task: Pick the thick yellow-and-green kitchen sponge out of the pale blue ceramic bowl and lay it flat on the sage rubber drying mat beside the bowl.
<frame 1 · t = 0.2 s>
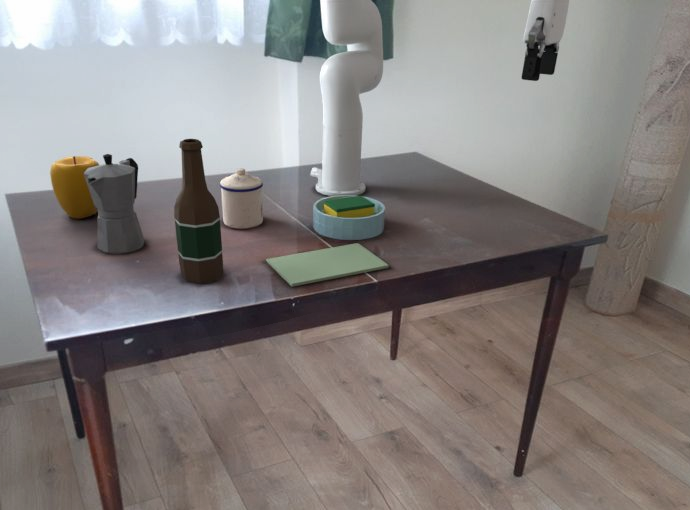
hand: (537, 77, 122), 31 cm above the table, tool pointing down, fingers open, 9 cm apart
bowl: (348, 228, 137), on the table
beer bottle: (202, 276, 115), on the table
sponge: (348, 227, 136), resting on bowl
apple: (84, 215, 141), on the table
drying mat: (327, 264, 120), on the table
coffeepot: (124, 244, 127), on the table
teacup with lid: (240, 221, 140), on the table
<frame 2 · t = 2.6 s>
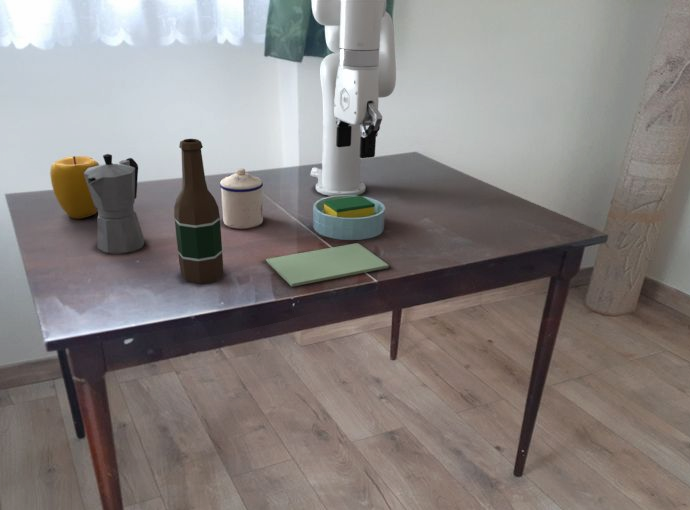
hand: (355, 151, 128), 16 cm above the table, tool pointing down, fingers open, 9 cm apart
nothing on the table moved.
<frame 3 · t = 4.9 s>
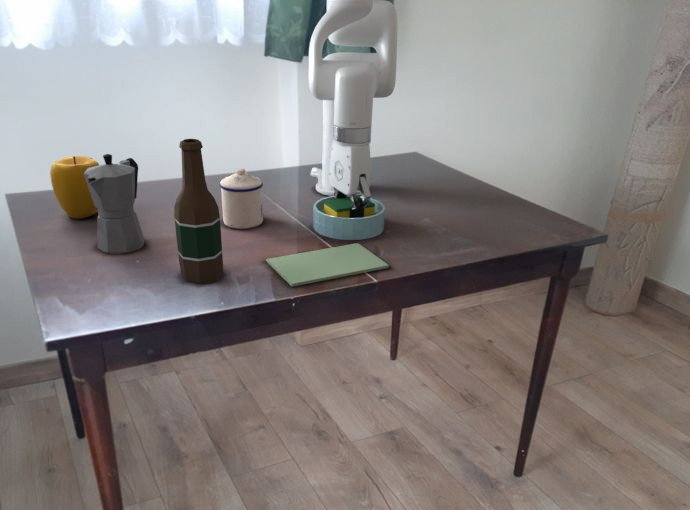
hand: (348, 219, 135), 2 cm above the table, tool pointing down, fingers closed on sponge, 6 cm apart
sponge: (348, 227, 136), resting on bowl, touching gripper
everything else where it was.
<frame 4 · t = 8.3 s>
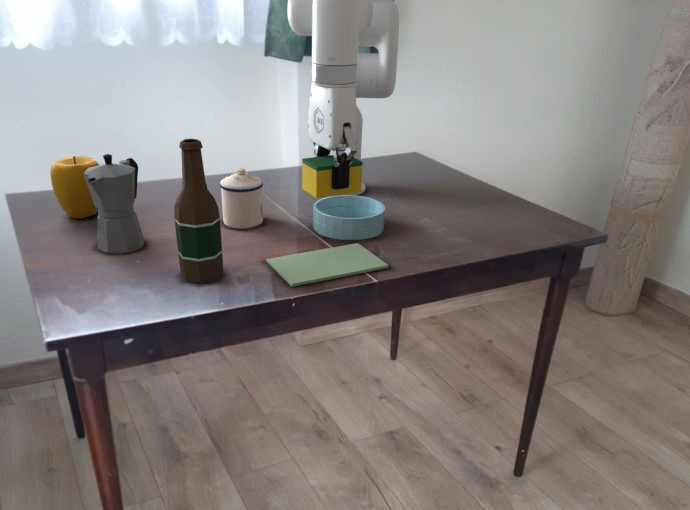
hand: (331, 182, 114), 15 cm above the table, tool pointing down, fingers closed on sponge, 6 cm apart
sponge: (331, 190, 114), point 14 cm above the table, touching gripper
everything else where it was.
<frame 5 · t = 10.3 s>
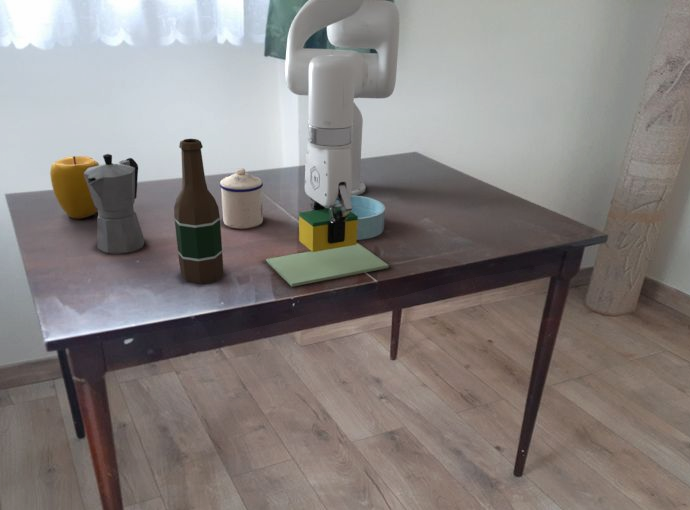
hand: (327, 234, 117), 6 cm above the table, tool pointing down, fingers closed on sponge, 6 cm apart
sponge: (327, 242, 118), point 5 cm above the table, touching gripper
everything else where it was.
when the fingers open (2 cm above the table, at t = 11.8 s): sponge stays where it is, resting on drying mat.
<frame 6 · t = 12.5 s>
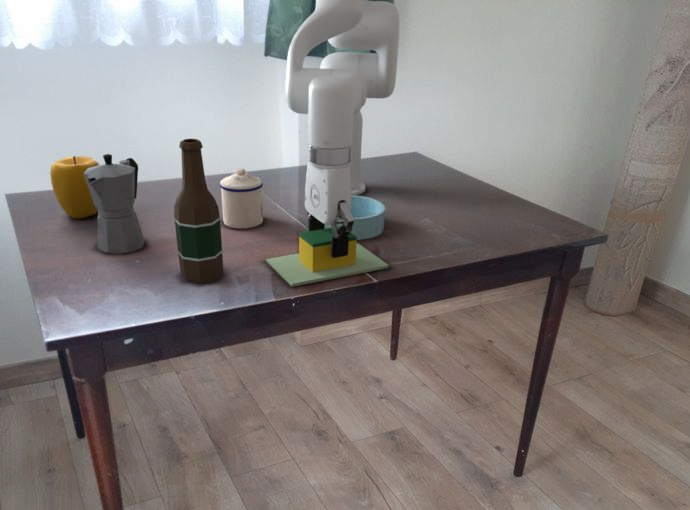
hand: (327, 246, 118), 4 cm above the table, tool pointing down, fingers open, 9 cm apart
sponge: (327, 262, 120), point 1 cm above the table, touching drying mat
everything else where it was.
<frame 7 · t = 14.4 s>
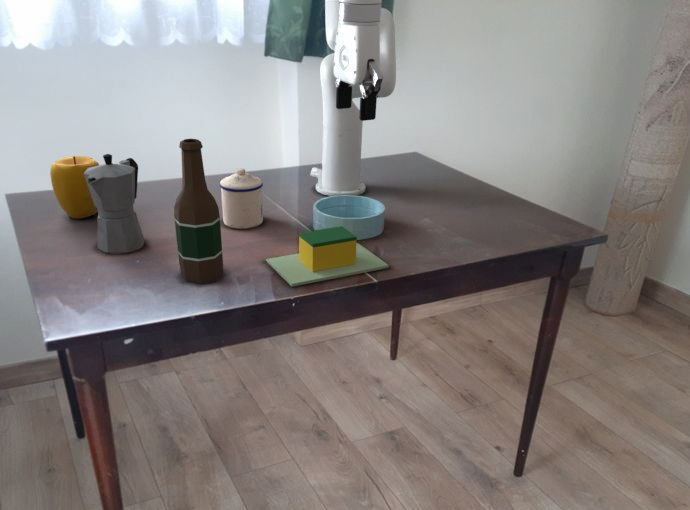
hand: (355, 113, 122), 24 cm above the table, tool pointing down, fingers open, 9 cm apart
nothing on the table moved.
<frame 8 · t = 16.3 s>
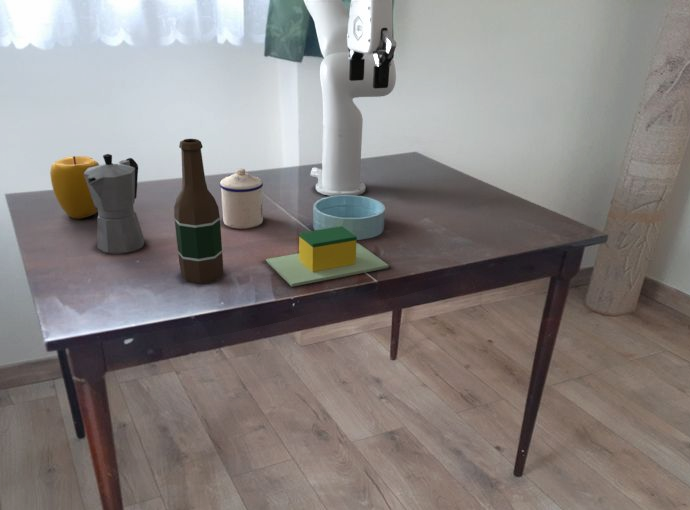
hand: (368, 84, 127), 28 cm above the table, tool pointing down, fingers open, 9 cm apart
nothing on the table moved.
at the end: sponge inside the target area on the drying mat (0.1 cm from its centre), point 0.6 cm above the drying mat's base; sponge tilted 0°; the gripper is holding nothing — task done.
